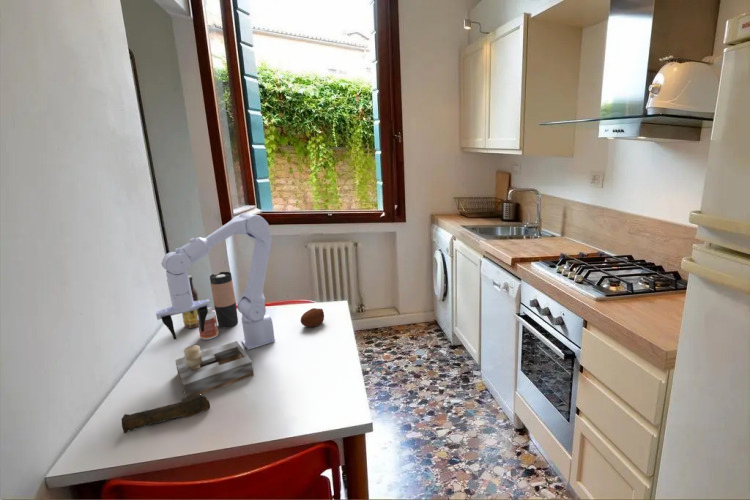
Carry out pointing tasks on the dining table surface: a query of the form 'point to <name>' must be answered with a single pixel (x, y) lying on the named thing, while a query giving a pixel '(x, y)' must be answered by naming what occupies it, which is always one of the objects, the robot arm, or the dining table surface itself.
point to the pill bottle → (209, 325)
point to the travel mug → (224, 299)
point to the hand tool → (165, 412)
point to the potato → (312, 317)
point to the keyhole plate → (215, 369)
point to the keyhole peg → (193, 357)
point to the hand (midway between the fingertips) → (188, 334)
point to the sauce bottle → (191, 316)
